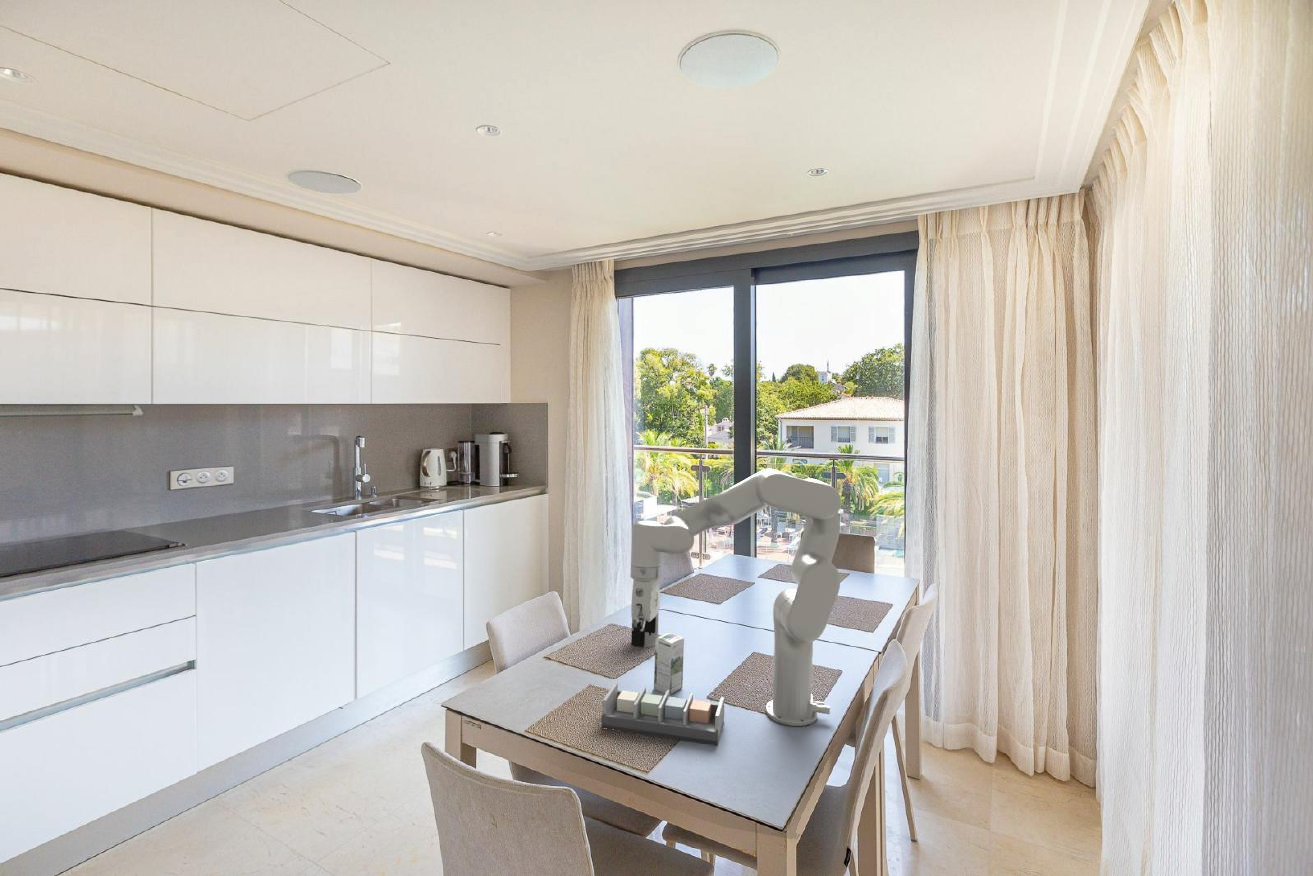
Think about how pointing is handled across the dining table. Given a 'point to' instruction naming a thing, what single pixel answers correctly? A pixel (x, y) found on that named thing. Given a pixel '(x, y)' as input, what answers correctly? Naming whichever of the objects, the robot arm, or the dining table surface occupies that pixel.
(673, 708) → the pale blue block
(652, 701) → the key sage
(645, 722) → the slotted cube rack
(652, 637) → the glass holder
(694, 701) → the light orange square block
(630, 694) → the cream block
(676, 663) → the syrup box
